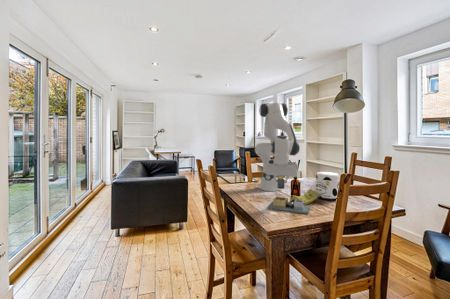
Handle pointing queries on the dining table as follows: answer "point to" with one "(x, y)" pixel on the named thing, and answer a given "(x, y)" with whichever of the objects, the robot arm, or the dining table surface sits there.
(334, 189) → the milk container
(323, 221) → the dining table surface
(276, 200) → the manifold
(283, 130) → the robot arm
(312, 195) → the plastic component
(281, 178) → the valve stub
